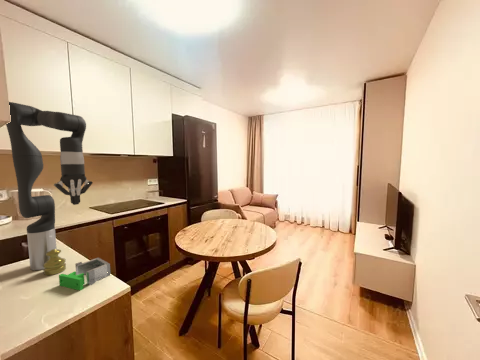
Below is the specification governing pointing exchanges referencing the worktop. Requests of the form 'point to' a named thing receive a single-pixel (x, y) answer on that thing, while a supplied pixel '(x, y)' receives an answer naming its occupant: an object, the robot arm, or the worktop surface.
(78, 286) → the pipe clamp
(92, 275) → the grey u-shaped bracket
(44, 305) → the worktop surface
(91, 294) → the worktop surface
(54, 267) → the gold twisted vase
